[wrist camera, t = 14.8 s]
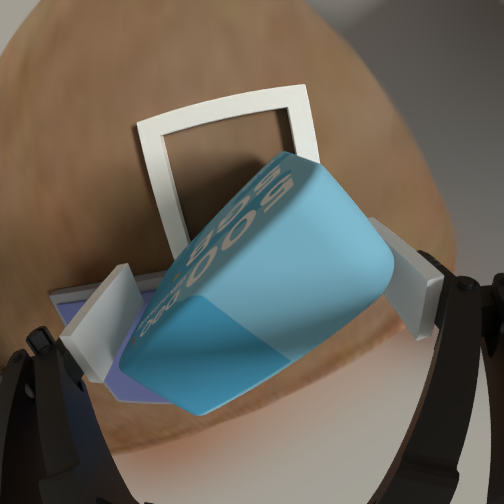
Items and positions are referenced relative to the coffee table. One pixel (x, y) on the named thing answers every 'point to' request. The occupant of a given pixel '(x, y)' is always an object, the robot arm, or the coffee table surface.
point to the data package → (258, 288)
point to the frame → (207, 113)
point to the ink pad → (116, 380)
